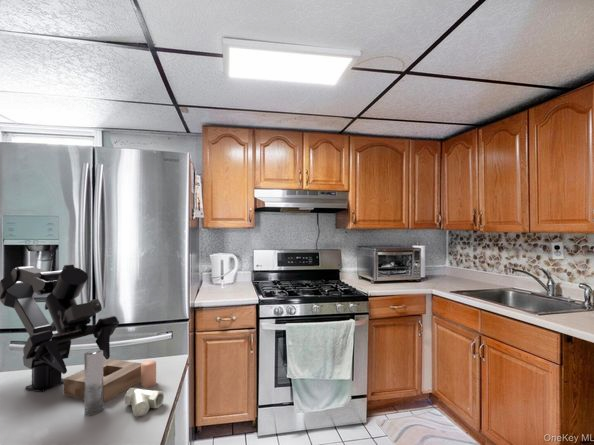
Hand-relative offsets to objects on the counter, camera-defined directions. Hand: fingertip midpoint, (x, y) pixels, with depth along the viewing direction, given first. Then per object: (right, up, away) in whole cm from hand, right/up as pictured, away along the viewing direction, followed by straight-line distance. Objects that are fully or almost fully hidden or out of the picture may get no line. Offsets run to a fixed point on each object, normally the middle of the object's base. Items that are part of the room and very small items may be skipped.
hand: (88, 365), depth 75 cm
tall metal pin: (+2, -10, -2) cm, 10 cm away
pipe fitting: (+12, -10, -1) cm, 16 cm away
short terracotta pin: (+9, -10, +11) cm, 17 cm away
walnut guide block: (-2, -10, +10) cm, 14 cm away
